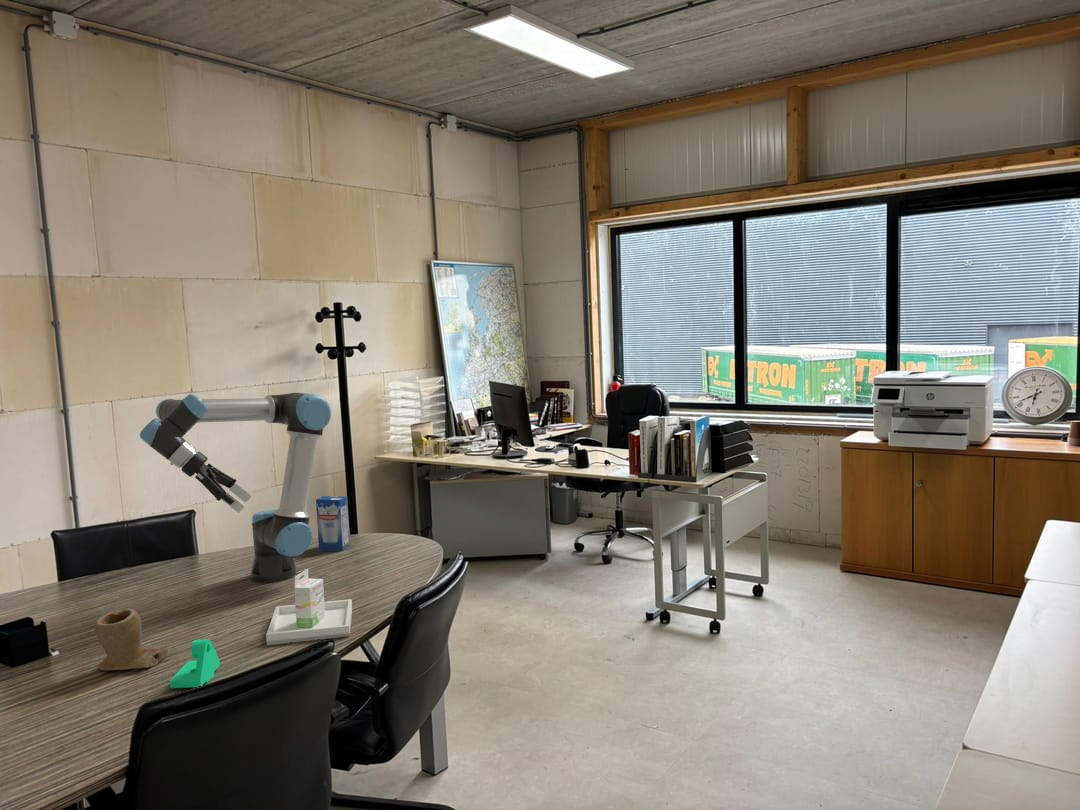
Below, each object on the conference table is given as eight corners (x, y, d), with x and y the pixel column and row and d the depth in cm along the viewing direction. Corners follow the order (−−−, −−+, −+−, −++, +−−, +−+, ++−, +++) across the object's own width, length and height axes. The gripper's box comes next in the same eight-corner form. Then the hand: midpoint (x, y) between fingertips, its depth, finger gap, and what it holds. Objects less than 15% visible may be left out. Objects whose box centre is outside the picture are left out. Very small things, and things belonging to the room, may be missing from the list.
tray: (277, 616, 237) (276, 606, 237) (352, 608, 241) (351, 599, 241) (266, 645, 215) (266, 634, 215) (349, 636, 220) (349, 625, 219)
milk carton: (349, 546, 310) (346, 496, 308) (342, 550, 304) (339, 499, 302) (326, 545, 312) (323, 495, 310) (318, 550, 306) (315, 499, 304)
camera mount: (189, 670, 201) (186, 631, 200) (220, 669, 202) (216, 630, 200) (169, 692, 189) (165, 651, 188) (201, 691, 190) (197, 650, 189)
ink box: (312, 628, 224) (309, 577, 222) (296, 627, 225) (292, 577, 223) (326, 617, 232) (323, 568, 231) (310, 616, 233) (307, 567, 232)
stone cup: (88, 678, 198) (82, 620, 197) (113, 658, 210) (108, 603, 209) (148, 676, 198) (143, 619, 197) (170, 656, 210) (166, 602, 208)
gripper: (189, 461, 249) (243, 504, 254) (170, 477, 225) (230, 523, 230) (205, 444, 250) (259, 486, 255) (188, 457, 226) (248, 504, 230)
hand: (245, 504), depth 242 cm, fingers open, 13 cm apart
